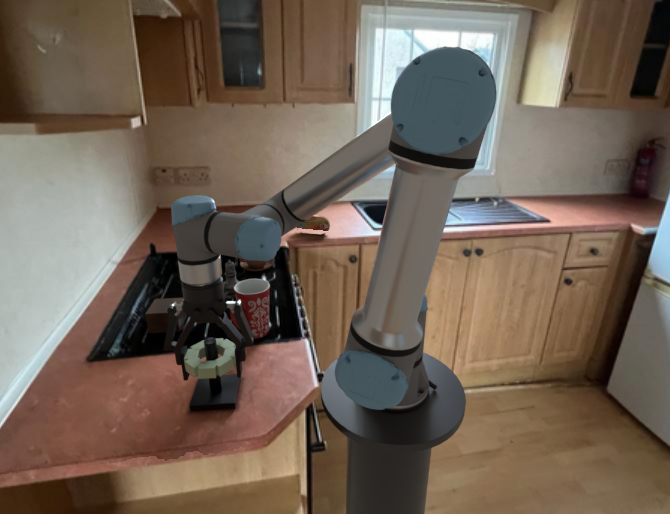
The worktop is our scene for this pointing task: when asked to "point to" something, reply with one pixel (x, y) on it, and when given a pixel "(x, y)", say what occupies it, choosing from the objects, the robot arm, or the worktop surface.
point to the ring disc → (210, 367)
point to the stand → (215, 386)
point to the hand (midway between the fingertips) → (213, 374)
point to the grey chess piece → (230, 280)
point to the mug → (254, 305)
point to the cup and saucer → (256, 265)
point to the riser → (163, 315)
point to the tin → (316, 223)
